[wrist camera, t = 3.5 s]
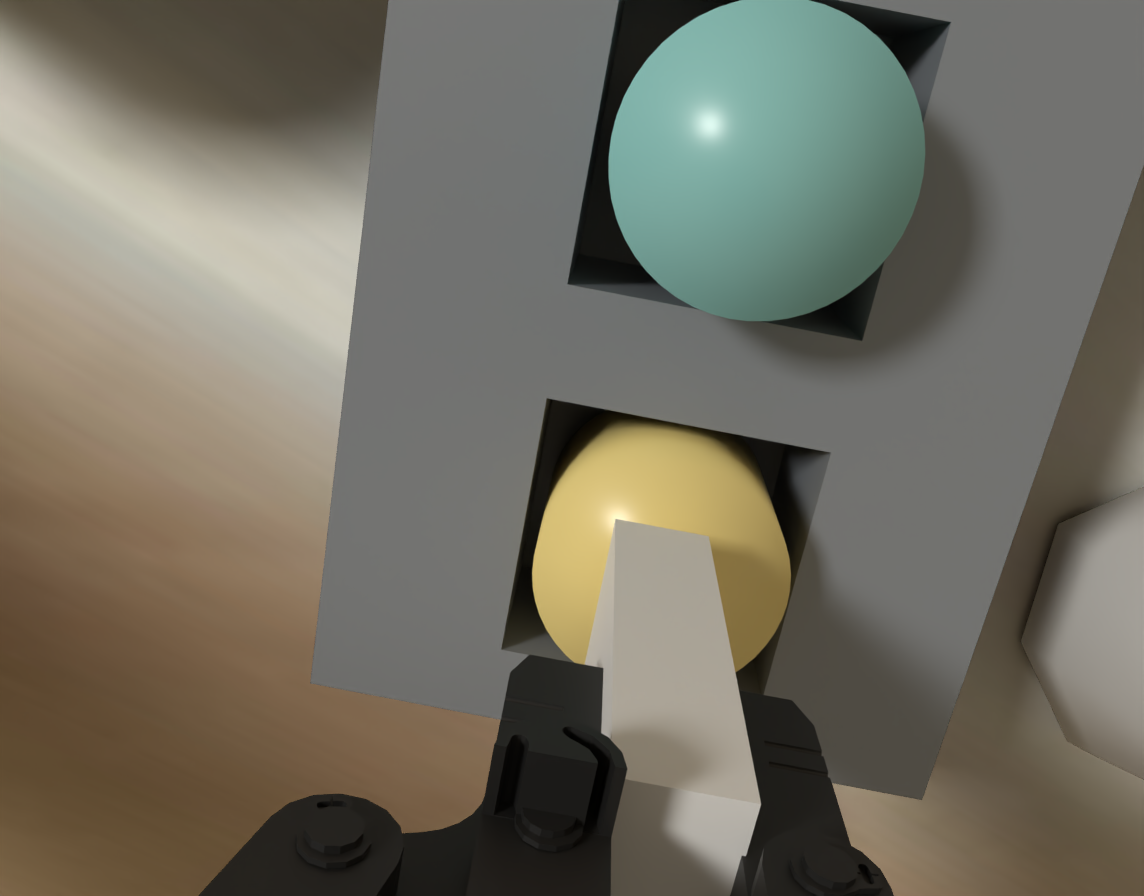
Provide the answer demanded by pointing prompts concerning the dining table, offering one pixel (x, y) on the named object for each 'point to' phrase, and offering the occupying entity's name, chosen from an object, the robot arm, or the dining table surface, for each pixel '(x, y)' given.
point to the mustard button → (659, 523)
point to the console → (715, 352)
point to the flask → (1095, 631)
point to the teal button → (766, 159)
